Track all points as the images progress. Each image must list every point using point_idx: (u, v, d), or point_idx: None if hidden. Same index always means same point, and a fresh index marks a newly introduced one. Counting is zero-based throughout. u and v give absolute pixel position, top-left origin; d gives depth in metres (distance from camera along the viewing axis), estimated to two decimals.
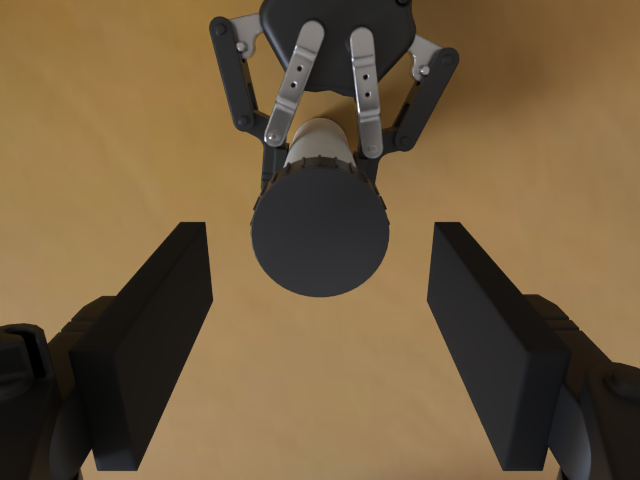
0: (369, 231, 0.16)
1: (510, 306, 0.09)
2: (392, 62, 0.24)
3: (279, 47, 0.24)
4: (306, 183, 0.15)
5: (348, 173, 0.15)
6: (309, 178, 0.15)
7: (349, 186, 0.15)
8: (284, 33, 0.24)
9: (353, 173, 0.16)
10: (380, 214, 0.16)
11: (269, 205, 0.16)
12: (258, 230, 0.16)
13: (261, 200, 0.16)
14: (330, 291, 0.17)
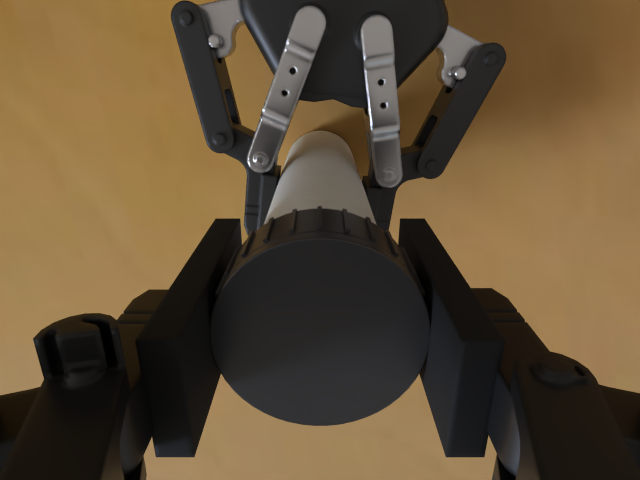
0: (398, 332, 0.10)
1: (455, 298, 0.09)
2: (416, 62, 0.18)
3: (265, 42, 0.18)
4: (298, 261, 0.09)
5: (367, 245, 0.09)
6: (302, 253, 0.09)
7: (368, 266, 0.09)
8: (272, 23, 0.18)
9: (374, 242, 0.10)
10: (418, 308, 0.10)
11: (238, 295, 0.10)
12: (221, 332, 0.10)
13: (224, 287, 0.10)
14: (336, 418, 0.11)
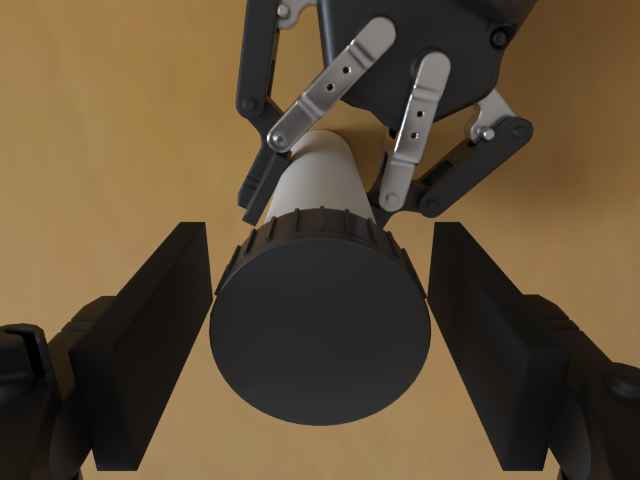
0: (322, 269, 0.09)
1: (510, 306, 0.09)
2: (455, 109, 0.19)
3: (330, 33, 0.18)
4: (231, 347, 0.10)
5: (222, 287, 0.10)
6: (223, 342, 0.10)
7: (241, 290, 0.10)
8: (343, 18, 0.18)
9: (229, 272, 0.10)
10: (294, 249, 0.09)
11: (260, 397, 0.11)
12: (297, 415, 0.11)
13: (251, 405, 0.11)
14: (420, 337, 0.10)
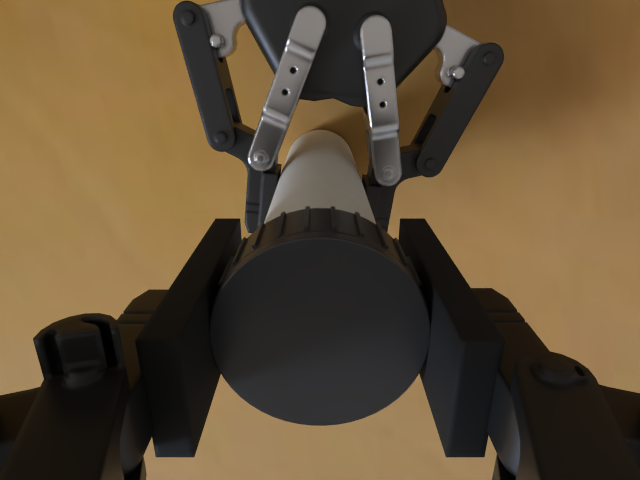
0: (291, 274, 0.09)
1: (456, 298, 0.09)
2: (415, 62, 0.18)
3: (266, 42, 0.18)
4: (242, 373, 0.10)
5: (210, 321, 0.10)
6: (233, 371, 0.10)
7: (227, 319, 0.10)
8: (273, 23, 0.18)
9: None
10: (256, 265, 0.09)
11: (289, 410, 0.11)
12: (331, 417, 0.11)
13: (285, 420, 0.11)
14: (415, 305, 0.10)
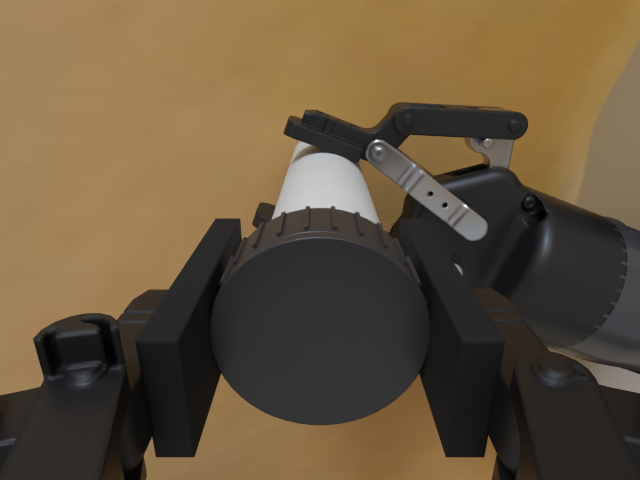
0: (291, 273, 0.09)
1: (455, 298, 0.09)
2: None
3: (470, 185, 0.21)
4: (242, 373, 0.10)
5: (210, 321, 0.10)
6: (234, 371, 0.10)
7: (227, 318, 0.10)
8: (482, 194, 0.21)
9: None
10: (257, 264, 0.09)
11: (290, 409, 0.11)
12: (331, 416, 0.11)
13: None
14: (415, 305, 0.10)
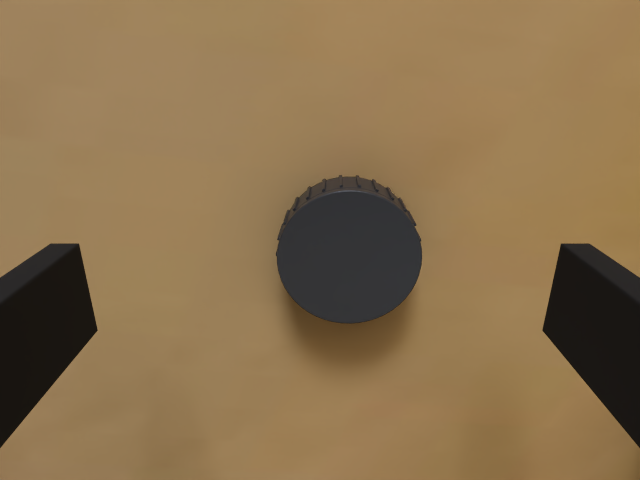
0: (331, 214, 0.15)
1: None
2: None
3: None
4: (297, 284, 0.16)
5: (278, 247, 0.15)
6: (291, 282, 0.16)
7: (289, 245, 0.15)
8: None
9: (279, 238, 0.16)
10: (310, 208, 0.15)
11: (327, 311, 0.16)
12: (355, 316, 0.16)
13: (324, 319, 0.16)
14: (411, 236, 0.15)
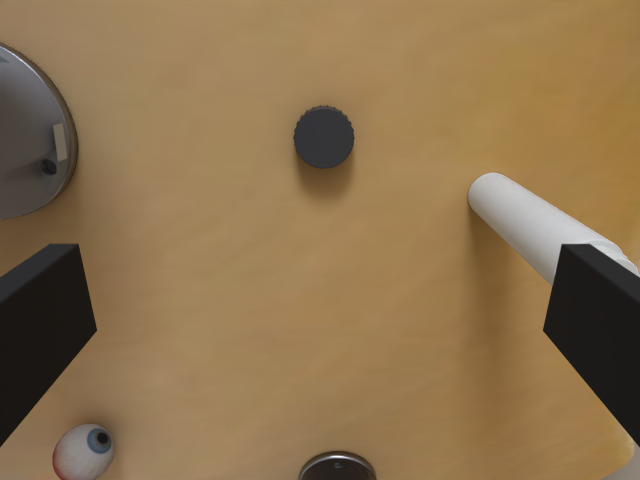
0: (316, 118, 0.37)
1: None
2: None
3: None
4: (302, 150, 0.38)
5: None
6: (300, 149, 0.38)
7: (299, 132, 0.37)
8: None
9: (295, 130, 0.38)
10: (307, 116, 0.37)
11: (315, 162, 0.38)
12: (327, 165, 0.38)
13: (314, 166, 0.38)
14: (349, 127, 0.37)
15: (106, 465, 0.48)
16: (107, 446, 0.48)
